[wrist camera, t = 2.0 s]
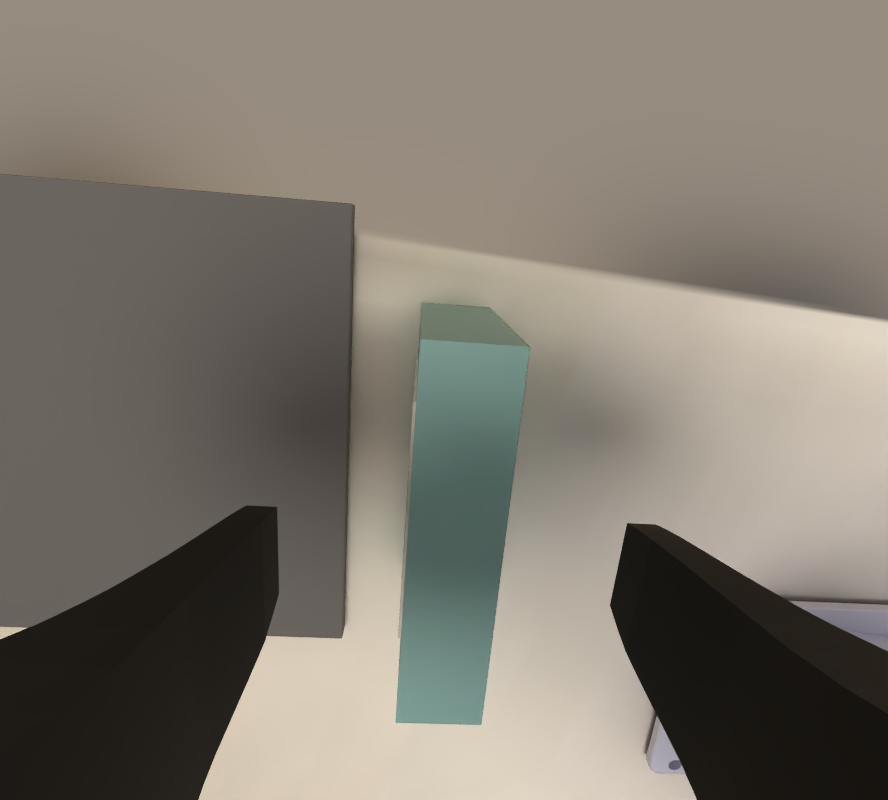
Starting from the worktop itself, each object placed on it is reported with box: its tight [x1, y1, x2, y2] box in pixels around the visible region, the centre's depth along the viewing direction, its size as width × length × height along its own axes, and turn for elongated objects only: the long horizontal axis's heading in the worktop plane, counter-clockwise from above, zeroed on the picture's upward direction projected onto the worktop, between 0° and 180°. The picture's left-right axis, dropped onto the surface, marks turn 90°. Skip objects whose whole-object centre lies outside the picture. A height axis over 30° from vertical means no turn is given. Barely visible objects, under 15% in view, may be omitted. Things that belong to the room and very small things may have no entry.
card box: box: [396, 303, 530, 725], centre depth 13 cm, size 9×2×6 cm, turn 175°
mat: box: [0, 174, 355, 638], centre depth 15 cm, size 14×14×1 cm
